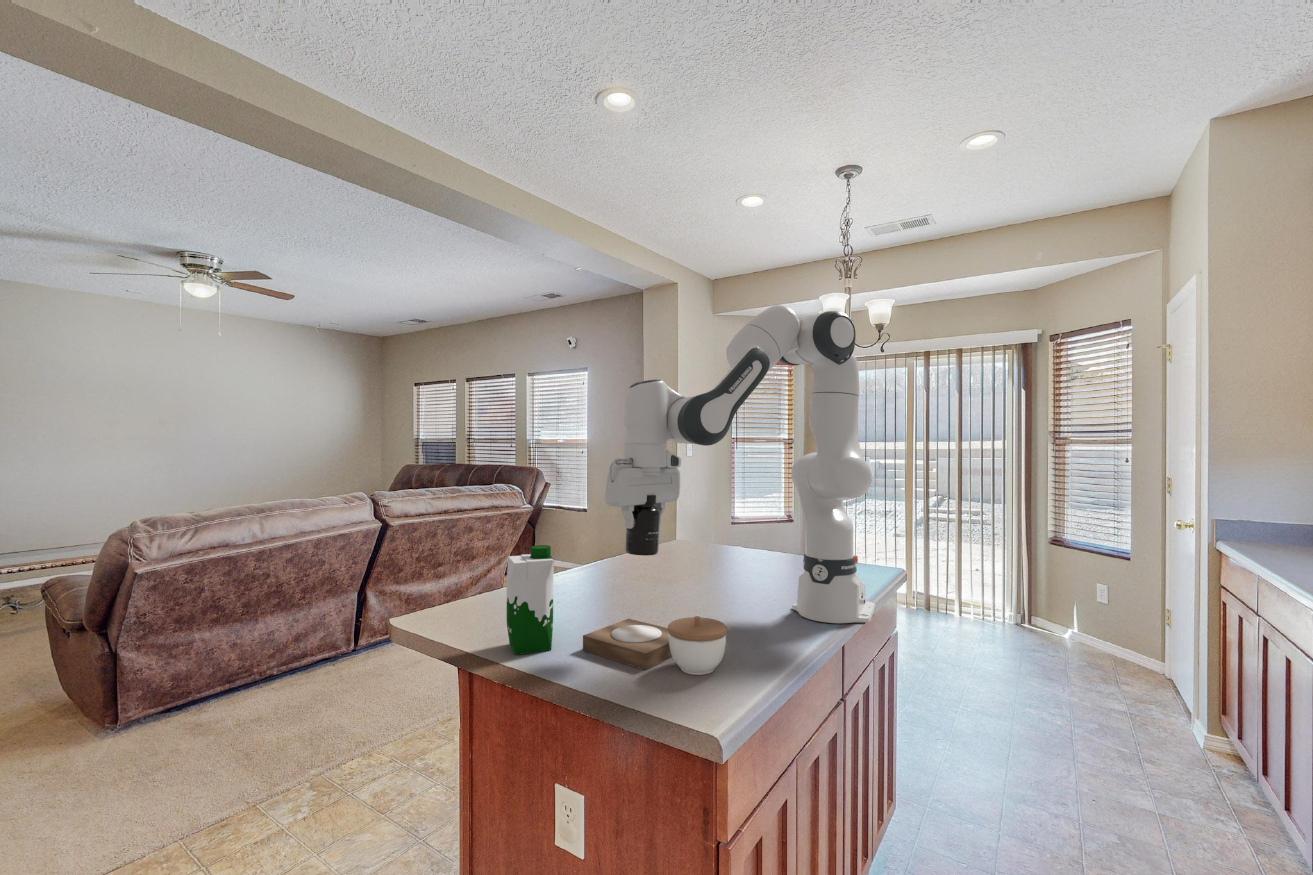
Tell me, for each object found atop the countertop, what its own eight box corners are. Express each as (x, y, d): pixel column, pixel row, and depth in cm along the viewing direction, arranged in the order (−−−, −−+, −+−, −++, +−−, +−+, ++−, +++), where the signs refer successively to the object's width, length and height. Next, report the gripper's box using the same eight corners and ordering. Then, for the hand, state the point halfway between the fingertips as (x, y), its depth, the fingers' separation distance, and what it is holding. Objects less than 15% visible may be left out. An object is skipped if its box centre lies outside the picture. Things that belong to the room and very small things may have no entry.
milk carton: (557, 651, 112) (557, 549, 112) (510, 657, 109) (510, 552, 109) (547, 637, 120) (547, 542, 121) (503, 643, 117) (504, 545, 117)
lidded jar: (725, 682, 97) (725, 627, 97) (663, 678, 99) (663, 624, 99) (728, 659, 108) (728, 609, 108) (672, 655, 110) (672, 607, 110)
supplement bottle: (656, 557, 112) (658, 496, 112) (622, 555, 113) (624, 494, 113) (661, 551, 118) (663, 493, 119) (629, 549, 120) (631, 492, 120)
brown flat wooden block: (628, 632, 123) (628, 617, 123) (689, 648, 114) (689, 631, 114) (582, 650, 112) (582, 633, 112) (646, 670, 103) (646, 651, 103)
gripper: (622, 458, 106) (621, 533, 106) (685, 458, 122) (684, 523, 122) (598, 458, 110) (596, 529, 110) (662, 458, 126) (661, 520, 126)
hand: (643, 526), depth 116 cm, fingers closed on supplement bottle, 6 cm apart
